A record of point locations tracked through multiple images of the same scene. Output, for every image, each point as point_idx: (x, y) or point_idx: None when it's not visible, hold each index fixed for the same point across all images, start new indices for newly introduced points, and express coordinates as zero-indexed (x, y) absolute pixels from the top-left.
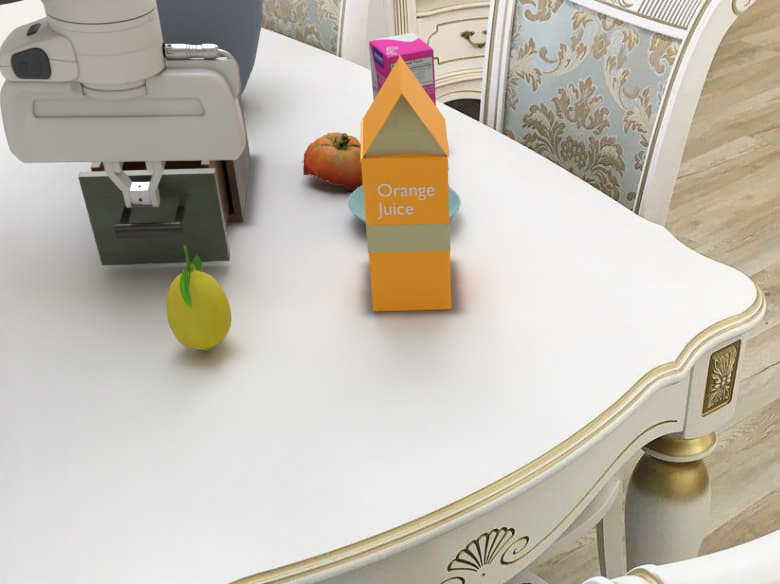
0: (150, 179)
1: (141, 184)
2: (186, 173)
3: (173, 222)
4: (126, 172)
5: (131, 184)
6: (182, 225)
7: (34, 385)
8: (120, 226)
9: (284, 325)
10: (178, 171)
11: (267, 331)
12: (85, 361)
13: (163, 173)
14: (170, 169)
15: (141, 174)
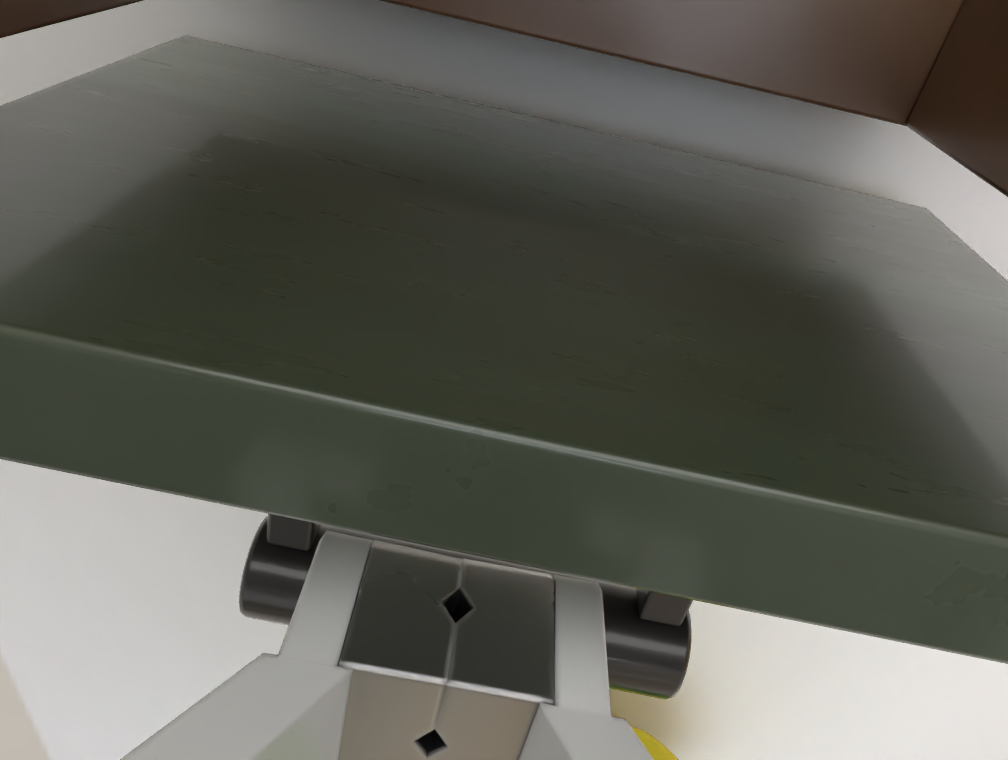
0: (549, 747)
1: (449, 722)
2: (985, 651)
3: (635, 676)
4: (278, 445)
5: (349, 706)
6: (690, 628)
7: (92, 717)
8: (281, 619)
9: (891, 680)
10: (920, 582)
11: (820, 691)
12: (220, 667)
13: (728, 585)
14: (846, 522)
15: (465, 535)
